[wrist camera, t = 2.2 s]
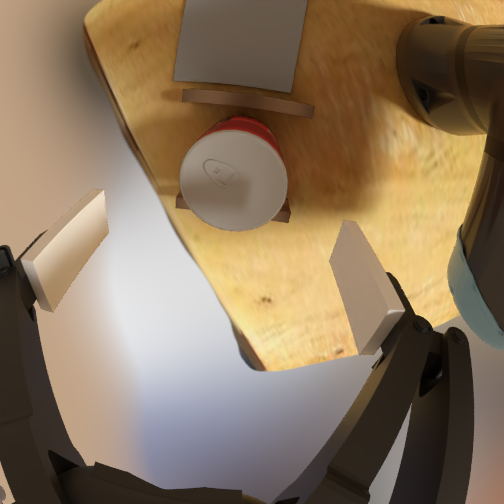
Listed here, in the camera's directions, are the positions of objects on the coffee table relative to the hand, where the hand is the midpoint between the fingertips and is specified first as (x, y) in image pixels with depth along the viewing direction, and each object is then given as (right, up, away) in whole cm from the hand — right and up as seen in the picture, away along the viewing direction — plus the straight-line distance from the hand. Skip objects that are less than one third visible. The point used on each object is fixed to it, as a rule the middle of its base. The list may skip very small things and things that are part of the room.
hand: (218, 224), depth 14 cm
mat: (+1, +20, +6) cm, 21 cm away
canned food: (+1, +10, +14) cm, 17 cm away
